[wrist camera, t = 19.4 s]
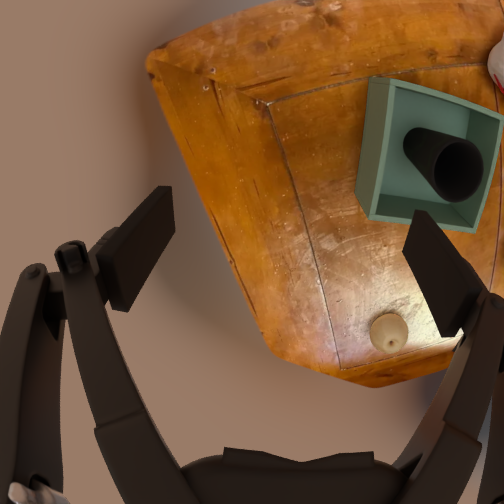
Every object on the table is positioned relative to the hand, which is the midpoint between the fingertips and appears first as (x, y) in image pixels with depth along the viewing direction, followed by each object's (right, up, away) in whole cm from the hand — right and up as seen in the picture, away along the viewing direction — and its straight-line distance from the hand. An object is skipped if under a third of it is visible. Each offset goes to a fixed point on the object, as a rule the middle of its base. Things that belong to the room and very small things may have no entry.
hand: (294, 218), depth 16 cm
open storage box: (+22, +14, +22) cm, 34 cm away
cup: (+22, +14, +21) cm, 33 cm away
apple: (+25, -16, +41) cm, 51 cm away
